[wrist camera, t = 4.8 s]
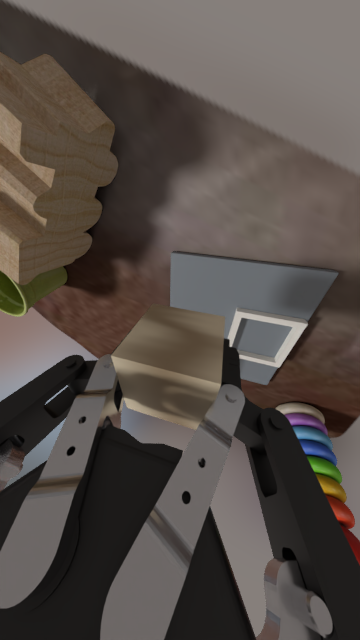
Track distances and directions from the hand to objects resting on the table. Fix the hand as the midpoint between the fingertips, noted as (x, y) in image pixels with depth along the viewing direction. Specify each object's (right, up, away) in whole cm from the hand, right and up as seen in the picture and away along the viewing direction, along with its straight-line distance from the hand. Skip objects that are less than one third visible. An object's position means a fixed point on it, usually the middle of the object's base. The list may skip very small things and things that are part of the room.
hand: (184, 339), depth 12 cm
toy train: (-12, +17, +8) cm, 22 cm away
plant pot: (-22, +11, +16) cm, 29 cm away
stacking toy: (+23, -17, +19) cm, 34 cm away
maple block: (0, 0, 0) cm, 0 cm away
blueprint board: (+7, 0, +12) cm, 14 cm away
